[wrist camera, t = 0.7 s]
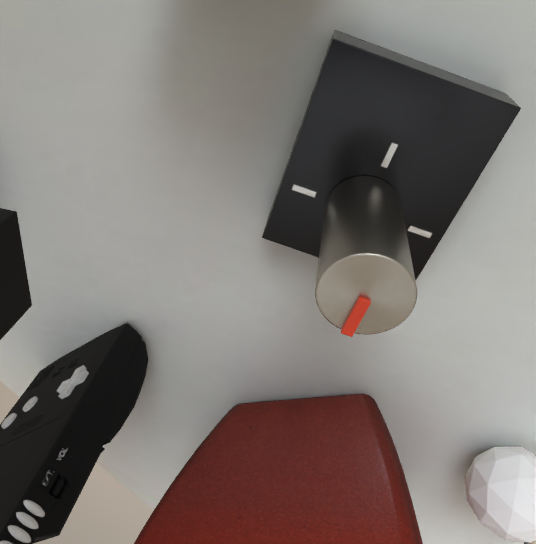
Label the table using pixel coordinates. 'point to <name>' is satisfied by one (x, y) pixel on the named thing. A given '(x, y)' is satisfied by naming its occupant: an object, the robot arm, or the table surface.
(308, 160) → the stove panel
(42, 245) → the table surface
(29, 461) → the handheld gaming console
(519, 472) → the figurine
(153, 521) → the flower pot
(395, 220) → the stove knob
